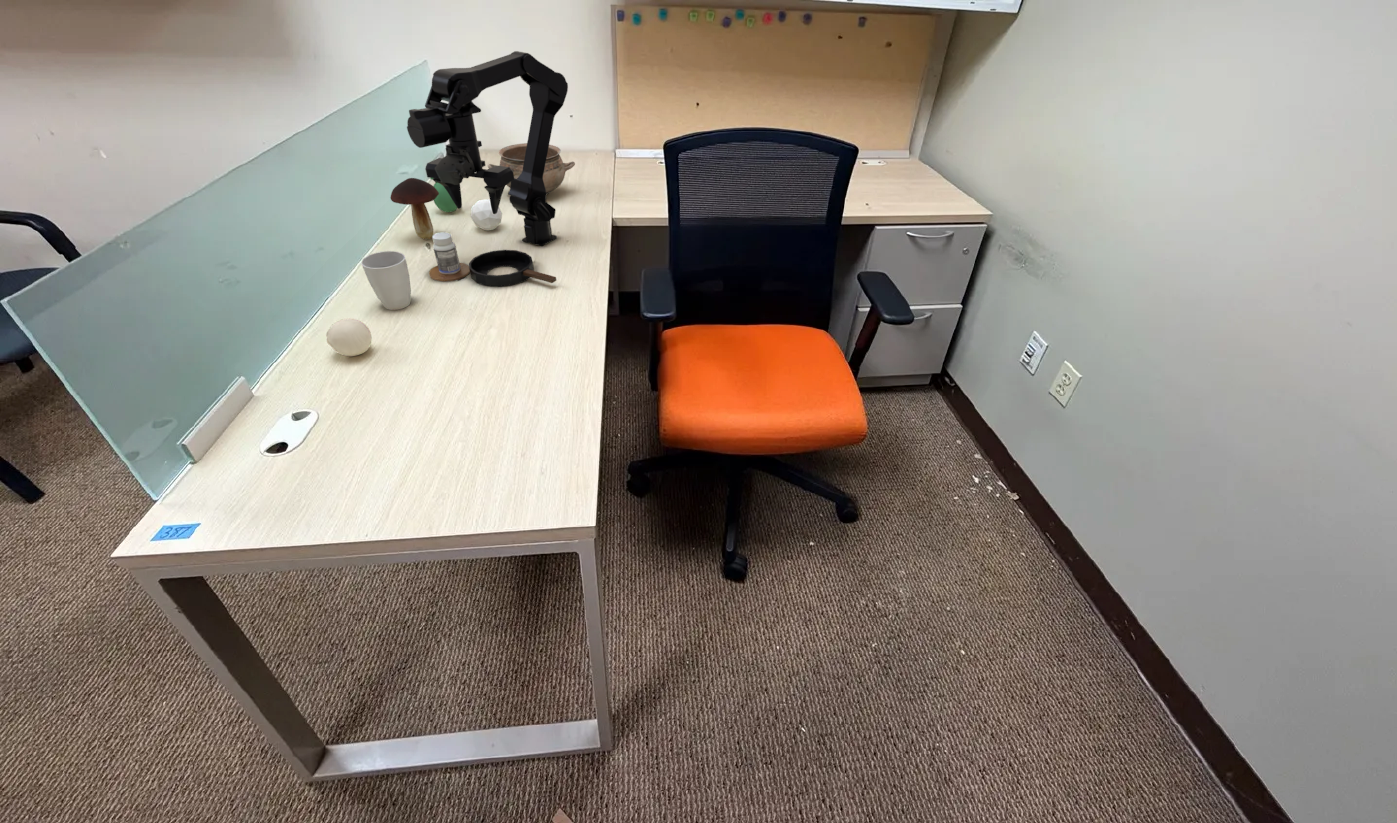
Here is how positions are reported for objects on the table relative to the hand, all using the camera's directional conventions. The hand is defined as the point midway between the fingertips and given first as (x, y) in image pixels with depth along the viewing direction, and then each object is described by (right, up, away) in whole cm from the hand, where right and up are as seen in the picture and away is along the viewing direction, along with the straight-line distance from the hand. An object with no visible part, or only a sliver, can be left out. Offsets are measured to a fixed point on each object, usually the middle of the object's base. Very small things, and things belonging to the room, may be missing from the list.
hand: (477, 210), depth 136 cm
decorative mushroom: (-19, -2, +16) cm, 25 cm away
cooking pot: (+1, +20, +45) cm, 49 cm away
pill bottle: (-7, -13, +1) cm, 15 cm away
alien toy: (-19, +10, +31) cm, 38 cm away
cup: (-13, -23, -10) cm, 29 cm away
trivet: (-7, -14, +2) cm, 15 cm away
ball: (-5, +3, +23) cm, 23 cm away
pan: (+9, -15, +1) cm, 17 cm away
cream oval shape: (-14, -35, -25) cm, 45 cm away
